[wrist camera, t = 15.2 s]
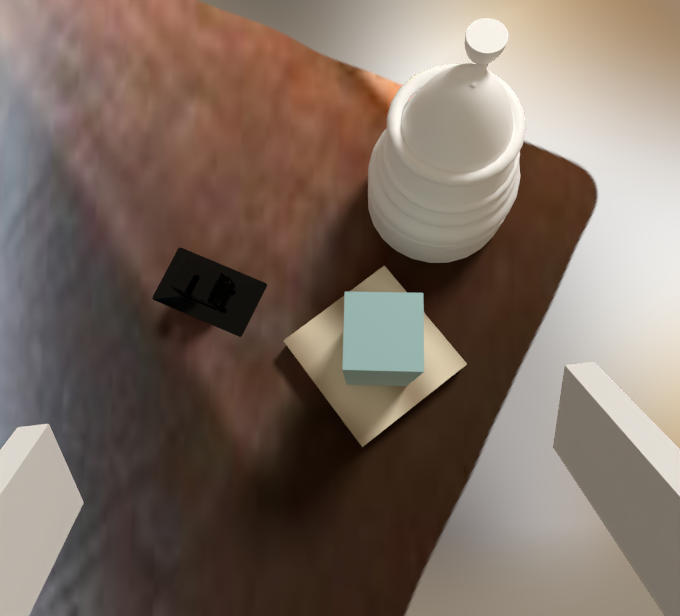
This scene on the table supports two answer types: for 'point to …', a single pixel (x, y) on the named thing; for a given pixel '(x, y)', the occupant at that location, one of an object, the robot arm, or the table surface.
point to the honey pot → (449, 155)
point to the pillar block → (383, 338)
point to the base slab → (368, 400)
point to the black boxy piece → (210, 291)
